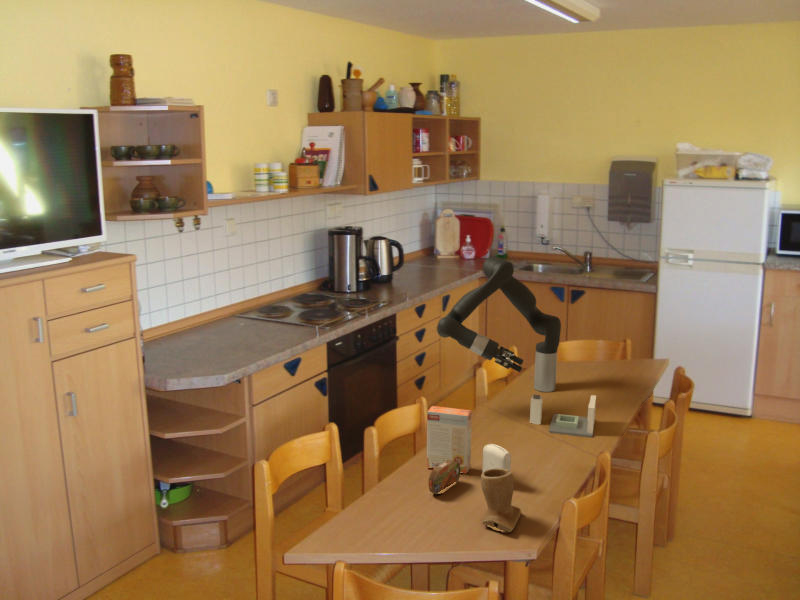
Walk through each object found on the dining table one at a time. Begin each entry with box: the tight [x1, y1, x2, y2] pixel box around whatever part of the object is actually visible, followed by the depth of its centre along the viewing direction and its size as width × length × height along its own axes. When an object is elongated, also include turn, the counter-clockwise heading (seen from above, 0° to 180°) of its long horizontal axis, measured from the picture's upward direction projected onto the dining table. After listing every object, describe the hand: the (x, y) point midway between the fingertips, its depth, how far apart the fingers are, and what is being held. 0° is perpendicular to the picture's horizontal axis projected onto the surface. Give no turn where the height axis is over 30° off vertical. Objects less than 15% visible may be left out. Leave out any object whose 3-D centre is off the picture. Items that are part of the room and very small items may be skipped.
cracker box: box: [426, 405, 473, 474], centre depth 260 cm, size 14×6×21 cm, turn 71°
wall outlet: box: [548, 394, 597, 438], centre depth 298 cm, size 18×16×11 cm
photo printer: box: [482, 443, 512, 473], centre depth 252 cm, size 10×4×12 cm, turn 39°
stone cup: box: [480, 468, 522, 533], centre depth 227 cm, size 15×12×15 cm
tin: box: [428, 460, 461, 495], centre depth 247 cm, size 15×3×8 cm, turn 143°
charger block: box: [529, 394, 543, 425], centre depth 302 cm, size 4×4×11 cm
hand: (521, 366), depth 299 cm, fingers open, 8 cm apart
